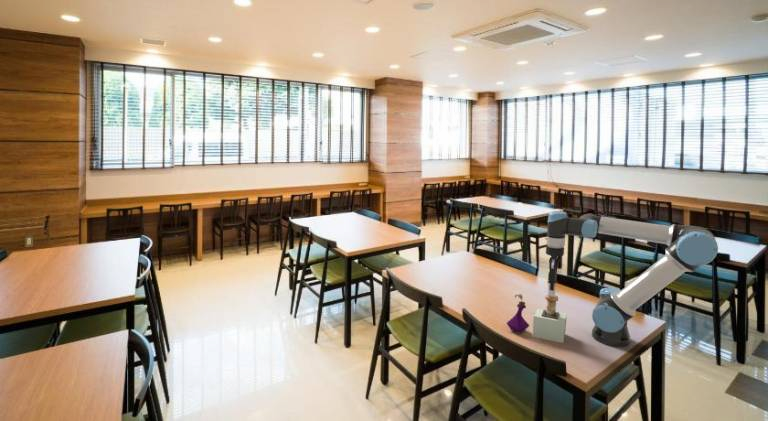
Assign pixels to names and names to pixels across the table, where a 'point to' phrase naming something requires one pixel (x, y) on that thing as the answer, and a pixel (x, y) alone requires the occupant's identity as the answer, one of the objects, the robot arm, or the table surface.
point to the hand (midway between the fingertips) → (551, 296)
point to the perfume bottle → (518, 318)
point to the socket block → (549, 326)
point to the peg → (551, 305)
